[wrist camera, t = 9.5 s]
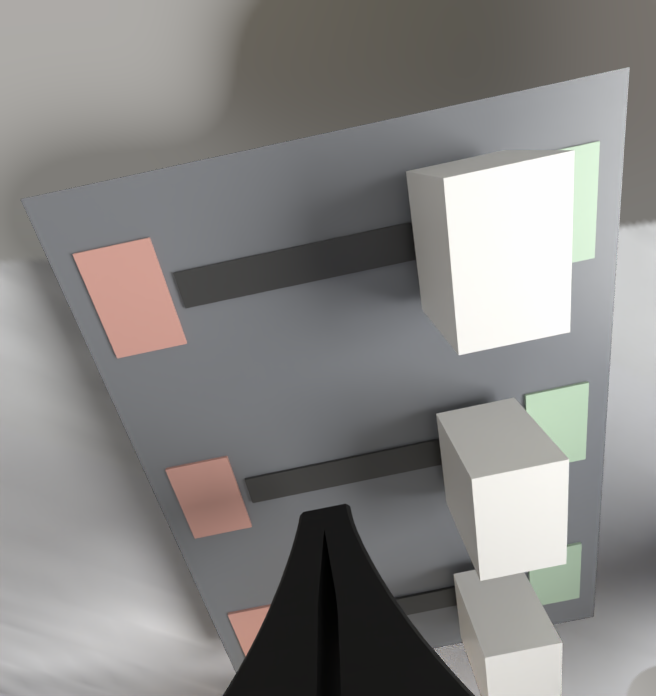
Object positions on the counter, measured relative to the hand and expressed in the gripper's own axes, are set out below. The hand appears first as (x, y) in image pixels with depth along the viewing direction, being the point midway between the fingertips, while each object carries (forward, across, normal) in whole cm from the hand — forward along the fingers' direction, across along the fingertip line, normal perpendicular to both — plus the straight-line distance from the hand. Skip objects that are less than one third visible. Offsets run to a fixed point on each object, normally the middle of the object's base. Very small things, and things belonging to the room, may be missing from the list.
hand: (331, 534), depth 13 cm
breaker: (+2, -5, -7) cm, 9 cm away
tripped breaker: (+2, -5, 0) cm, 5 cm away
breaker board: (+4, -2, 0) cm, 5 cm away
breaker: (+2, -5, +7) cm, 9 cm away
